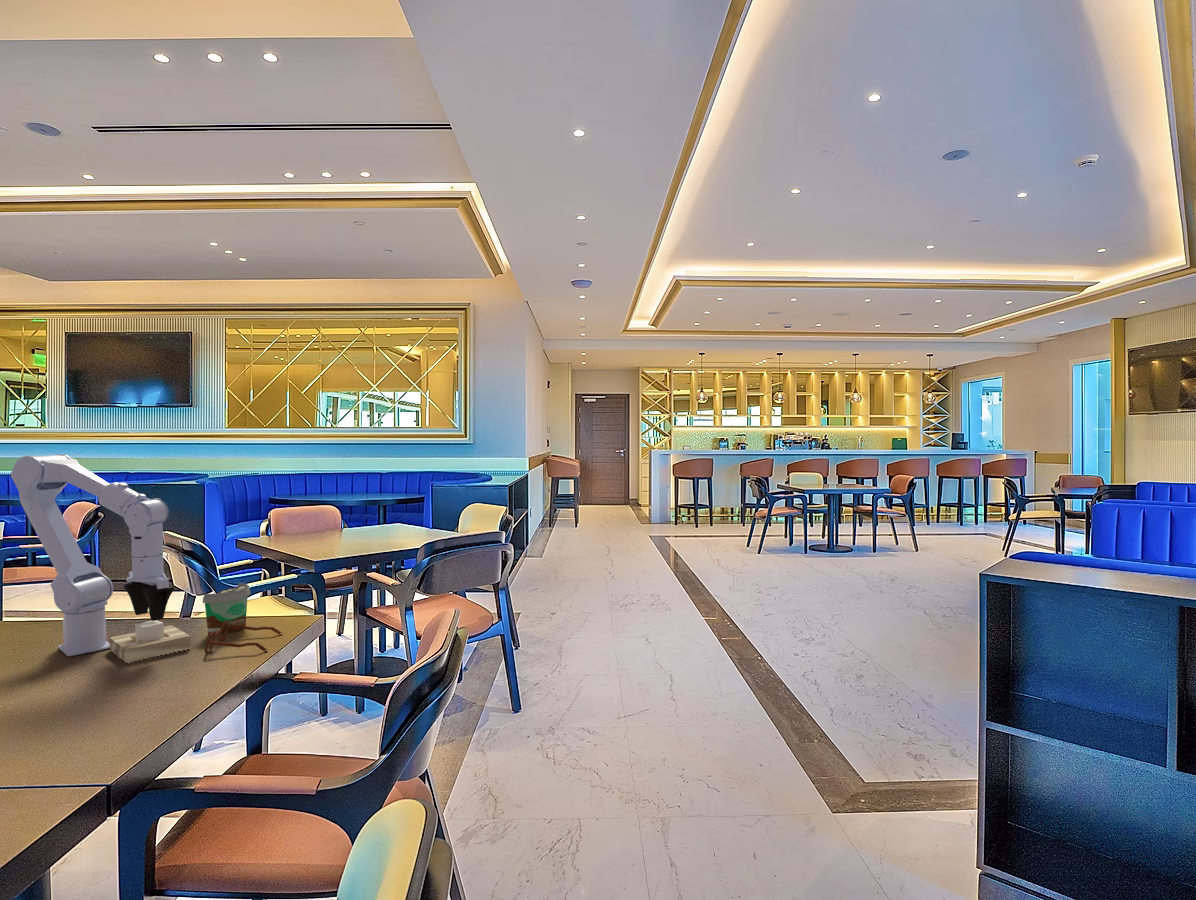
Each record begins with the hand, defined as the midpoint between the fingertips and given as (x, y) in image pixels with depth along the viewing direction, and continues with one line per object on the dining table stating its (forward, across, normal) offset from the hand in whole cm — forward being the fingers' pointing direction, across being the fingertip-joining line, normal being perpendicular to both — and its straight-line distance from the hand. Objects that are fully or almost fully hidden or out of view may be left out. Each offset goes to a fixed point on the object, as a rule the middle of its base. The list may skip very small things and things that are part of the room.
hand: (149, 616), depth 148 cm
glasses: (+8, +14, +14) cm, 21 cm away
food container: (+8, 0, +18) cm, 20 cm away
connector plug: (+8, 0, 0) cm, 8 cm away
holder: (+7, 0, 0) cm, 7 cm away
